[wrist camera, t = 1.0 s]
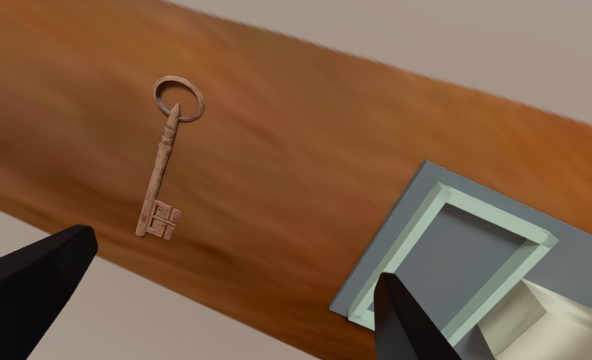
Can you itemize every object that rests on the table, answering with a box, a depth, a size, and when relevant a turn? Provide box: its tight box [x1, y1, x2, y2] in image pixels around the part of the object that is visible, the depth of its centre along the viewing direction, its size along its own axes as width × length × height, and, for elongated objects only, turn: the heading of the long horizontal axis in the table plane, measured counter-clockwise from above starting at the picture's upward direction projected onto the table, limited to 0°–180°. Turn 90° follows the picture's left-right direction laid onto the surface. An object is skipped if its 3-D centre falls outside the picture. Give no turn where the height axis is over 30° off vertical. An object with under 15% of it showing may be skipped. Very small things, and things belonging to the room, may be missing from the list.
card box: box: [477, 278, 592, 360], centre depth 24 cm, size 10×6×4 cm, turn 67°
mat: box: [329, 160, 592, 360], centre depth 25 cm, size 22×16×1 cm
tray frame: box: [348, 181, 559, 347], centre depth 24 cm, size 9×14×1 cm, turn 157°
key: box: [136, 76, 205, 240], centre depth 25 cm, size 6×1×15 cm
